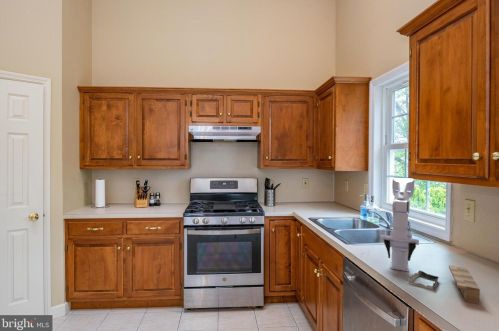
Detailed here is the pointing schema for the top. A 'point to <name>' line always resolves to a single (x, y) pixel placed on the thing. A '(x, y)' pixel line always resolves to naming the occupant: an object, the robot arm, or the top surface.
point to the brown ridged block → (466, 284)
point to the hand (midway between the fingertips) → (398, 258)
